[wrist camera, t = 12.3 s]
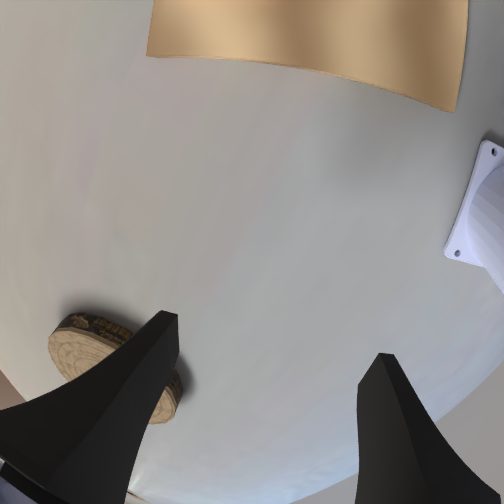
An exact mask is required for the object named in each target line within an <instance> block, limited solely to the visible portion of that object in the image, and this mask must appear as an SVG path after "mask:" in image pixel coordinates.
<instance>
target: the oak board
mask: <svg viewBox="0 0 504 504" xmlns="http://www.w3.org/2000/svg"><path fill="white" fill-rule="evenodd" d="M467 18H468V0H154V5H153V11H152V17H151V23H150V30H149V37H148V44H147V52H146V56H149V57H157V58H170V57H183V58H214V59H229V60H241V61H251V62H259V63H267V64H274V65H281V66H288V67H294V68H299V69H305V70H310V71H315V72H320V73H325V74H329V75H334V76H338V77H342V78H346V79H350V80H354V81H358V82H361V83H365V84H368V85H372V86H375V87H379V88H382V89H385V90H388V91H391V92H394V93H397V94H400V95H403V96H406V97H409V98H412V99H415V100H417V101H420V102H423V103H425V104H428V105H430V106H433V107H435V108H438V109H440V110H443V111H447V112H451V113H454V111H455V107H456V102H457V97H458V91H459V86H460V80H461V73H462V67H463V59H464V51H465V42H466V32H467Z"/></svg>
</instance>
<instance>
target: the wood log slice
mask: <svg viewBox="0 0 504 504" xmlns="http://www.w3.org/2000/svg"><path fill="white" fill-rule="evenodd" d="M133 335H134V333H133V332H131V331H130V330H128V329H127V328H125V327H123V326H121V325H119V324H116V323H114V322H112V321H110V320H108V319H105V318H103V317H100V316H95V315H91V314H86V313H78V314H70V315H68V316H67V317H66V318H65V319H64V320H63V321H62V322H61V323H60V324H59V325H58V327H57V328H56V329H55V330H54V332H53V333H52V334H51V336H50V337H49V341H48V349H49V352H50V355H51V358H52V360H53V362H54V364H55V365H56V367H57V368H58V370H59V371H60V373H61V374H62V375H63V376H64V377H65V378H66V379H67V381H68V382H69V381H71V380H73V379H75V378H76V377H78V376H80V375H81V374H83V373H84V372H86V371H87V370H89V369H90V368H92V367H93V366H95V365H96V364H98V363H99V362H100V361H102V360H103V359H104V358H105V357H107V356H108V355H109V354H111V353H112V352H113V351H115V350H116V349H117V348H118V347H120V346H121V345H122V344H123V343H124V342H126V341H127V340H128V339H129V338H130V337H131V336H133ZM182 390H183V387H182V384H181V381H180V378H179V375H178V374H177V373H176V371H175V370H174V369H173V372H172V374H171V377H170V379H169V381H168V383H167V385H166V387H165V389H164V391H163V394H162V396H161V398H160V400H159V402H158V404H157V406H156V408H155V410H154V412H153V414H152V416H151V418H150V420H149V423H148V424H161V423H166V422H168V421H169V420H171V419H172V418H173V417H174V415H175V412H176V409H177V407H178V404H179V401H180V398H181V394H182Z"/></svg>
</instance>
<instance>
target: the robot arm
mask: <svg viewBox="0 0 504 504" xmlns="http://www.w3.org/2000/svg"><path fill="white" fill-rule="evenodd" d="M493 148H494V154H492V149H493ZM457 250H459V251H458V252H457V253H456V254H455V251H457ZM444 253H445V255H446V256H447V257H448V258H451V259H455V260H458V261H462V262H466V263H470V264H473V265H477V266H481V267H485V269H486V270H487V271H488V273H489V274H490V275H491V277H492V278H493V280H494V281H495V283H496V284H497V285H498V287H499V288H500V290H501V291H502V293H503V294H504V148H503V147H501V146H499V145H497V144H495V143H493V142H491V141H489V140H483V141H482V142H481V144H480V148H479V152H478V155H477V159H476V162H475V166H474V169H473V172H472V175H471V179H470V182H469V185H468V188H467V191H466V194H465V196H464V199H463V202H462V205H461V208H460V210H459V213H458V216H457V218H456V221H455V223H454V226H453V228H452V231H451V233H450V236H449V238H448V240H447V243H446V245H445V247H444ZM178 354H179V336H178V314H174V313H170V312H167V311H163V310H161V311H159V312H158V313H157V314H156V315H155V316H154V317H153V318H151V319H150V320H149V321H148V322H147V323H146V324H145V325H144V326H143V327H142V328H141V329H139V330H138V331H137V332H136V333H135V334H134V335H133V336H131V337H130V338H129V339H128V340H127V341H126V342H124V343H123V344H122V345H121V346H120V347H118V348H117V349H116V350H115V351H113V352H112V353H111V354H109V355H108V356H107V357H105V358H104V359H103V360H102V361H100V362H99V363H98V364H96V365H95V366H93V367H92V368H90V369H89V370H87V371H86V372H84V373H83V374H81V375H80V376H78V377H76V378H75V379H73V380H71V381H69V382H68V383H66V384H64V385H62V386H60V387H59V388H57V389H55V390H53V391H51V392H49V393H46V394H44V395H42V396H39V397H37V398H35V399H32V400H30V401H28V402H25V403H22V404H19V405H16V406H13V407H10V408H7V409H3V410H0V458H1V459H3V460H4V461H5V462H4V463H3V462H2V461H0V504H124V502H125V497H126V493H127V489H128V485H129V481H130V477H131V473H132V470H133V466H134V463H135V460H136V457H137V453H138V450H139V447H140V444H141V441H142V438H143V435H144V432H145V430H146V427H147V425H148V423H149V420H150V418H151V416H152V414H153V412H154V410H155V408H156V406H157V404H158V402H159V400H160V398H161V396H162V394H163V391H164V389H165V387H166V385H167V383H168V381H169V379H170V377H171V374H172V372H173V369H174V366H175V363H176V360H177V357H178ZM357 425H358V442H359V475H358V485H357V492H356V499H355V504H501V498H500V494H498V493H497V492H496V491H494V490H493V489H492V488H491V487H489V486H488V485H487V484H485V483H484V482H483V481H482V480H481V479H480V478H479V477H478V476H477V475H476V474H475V473H474V472H473V471H472V470H471V469H470V468H469V467H468V466H467V465H466V464H465V463H464V462H463V461H462V460H461V458H460V457H459V456H458V455H457V454H456V453H455V452H454V450H453V449H452V448H451V446H450V445H449V444H448V442H447V441H446V440H445V438H444V437H443V436H442V434H441V433H440V432H439V430H438V429H437V427H436V426H435V424H434V422H433V421H432V419H431V418H430V416H429V415H428V413H427V411H426V410H425V408H424V406H423V405H422V403H421V401H420V400H419V398H418V396H417V394H416V393H415V391H414V389H413V387H412V386H411V384H410V382H409V380H408V378H407V377H406V375H405V373H404V371H403V370H402V368H401V366H400V364H399V363H398V361H397V359H396V357H395V356H394V354H386V353H379V354H378V355H377V357H376V358H375V360H374V362H373V363H372V365H371V366H370V368H369V369H368V371H367V372H366V374H365V375H364V377H363V378H362V380H361V381H360V383H359V384H358V393H357Z"/></svg>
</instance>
